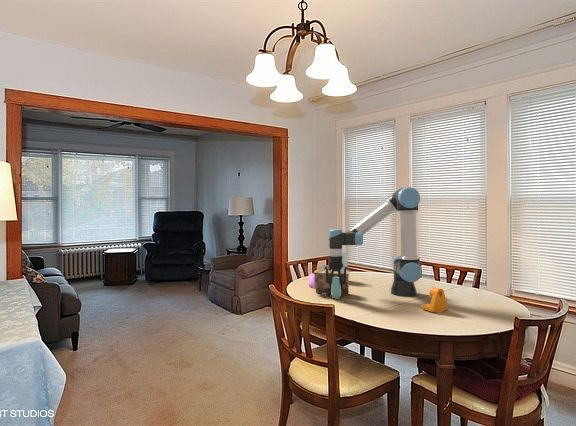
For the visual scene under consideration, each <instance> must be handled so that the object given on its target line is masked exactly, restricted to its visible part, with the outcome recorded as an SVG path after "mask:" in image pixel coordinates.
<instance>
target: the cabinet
mask: <svg viewBox="0 0 576 426" xmlns="http://www.w3.org/2000/svg"><path fill="white" fill-rule="evenodd" d="M313 274H314V278H315V288H316V289H315V293H316V294H322V292H323V291H328V292H329V293H331V290H330V289H329V283H326V270H325V269H324V270H323V269H322V270H319V269H316V270H314V272H313ZM341 276H342V281H344V271H341ZM349 276H350V271H349V270H347V271H346V283H345V284H343V290H341V295H344V294H348V293H349V289H350V288H349V285H350V284H349V282H350V281H349ZM328 277H329V281H330V277H331V270H328ZM333 277H339V274H338V272H337V271H335V272H334V274H333ZM348 295H349V294H348Z"/></svg>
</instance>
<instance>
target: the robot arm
mask: <svg viewBox="0 0 576 426" xmlns="http://www.w3.org/2000/svg"><path fill="white" fill-rule="evenodd" d="M420 202H421V195H420V193H419V190H417V189H416V188H414V187H411V186H407V187H401V188H399V189H397V190H396V191H394V193H393V194H391V195H390V196H389V197H388V198H387V199H386V200H385V202H384V203H383V204H381V205H380V206H379V207H378V208H376V209H375V210H373V211H372V212H371V213H370V214H368V215H367V216H366V217H364V219H362V220H361V221H360V222H358V223H357V224H355V225H354V226H353V227H351V228H350V229H349V230H346V232H343V229H342V228H336V229H335V228H332V229H329V233H328V234H329V235H328V241H329V242H328V243H329V245H328V246H329V248H328V249H329V250H328V251H329V258H328V259H329V263H328V265H325V266H324V270H326V283H329V289H330V290H331V294H330V296H331V297H332V278H333V274H334V272H335V271H337V272H338V274H339V279H340V284H339V296H340V297H341V296H342V294H341V290H343V284H345V283H346V270H347V271H348V265H347V266H344V265H343V263H342V256H341V255H342V250H343V246H357V247H358V246H362V245H363V244H364V235H365V234H367V233H368V232H369V231H370V230H372V229H373V228H374V227H376V226H377V225H378V224H379V223H381V222H382V221H384V220H385V219H386V218H388V217H389V216H390V215H392V214H393V213H399V227H400V228H399V229H400V255H397V256H396V255H395V256H394V257H393V282H392V285H391V286H390V293H391V294H392V295H395V296H400V297H412V296H413V297H414V296H416V295H417V288H416V285H415V282H417V281H419V280H420V279H421V278H422V276H423V269H422V267H421V265H420V264H421V263H420V262H421V261H420V257H419V256H418V253H417V250H418V249H417V217H416V214H417V213H418V211H419V203H420ZM342 267H343V269H344V281H342V276H341V271H340V270H341V269H342ZM329 269H330V271H331V270H332V271H331V277H330V281H329V277H328V271H329Z"/></svg>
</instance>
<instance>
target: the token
mask: <svg viewBox="0 0 576 426" xmlns="http://www.w3.org/2000/svg"><path fill="white" fill-rule="evenodd" d="M322 294H323V295H322ZM321 295H322V296H324V295H328V296H330V294H329V292H328V291H323V292H322V293H321Z"/></svg>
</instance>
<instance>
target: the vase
mask: <svg viewBox="0 0 576 426" xmlns="http://www.w3.org/2000/svg"><path fill="white" fill-rule="evenodd" d="M341 256H342V263H343V265H344V266H347V267H348V252H347V251H346V250H344V249H342V255H341ZM330 271H332V270H331V269H330ZM340 271H344V269H343V267H342V269H341V270H340ZM346 271H348V269H347V270H346Z"/></svg>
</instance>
